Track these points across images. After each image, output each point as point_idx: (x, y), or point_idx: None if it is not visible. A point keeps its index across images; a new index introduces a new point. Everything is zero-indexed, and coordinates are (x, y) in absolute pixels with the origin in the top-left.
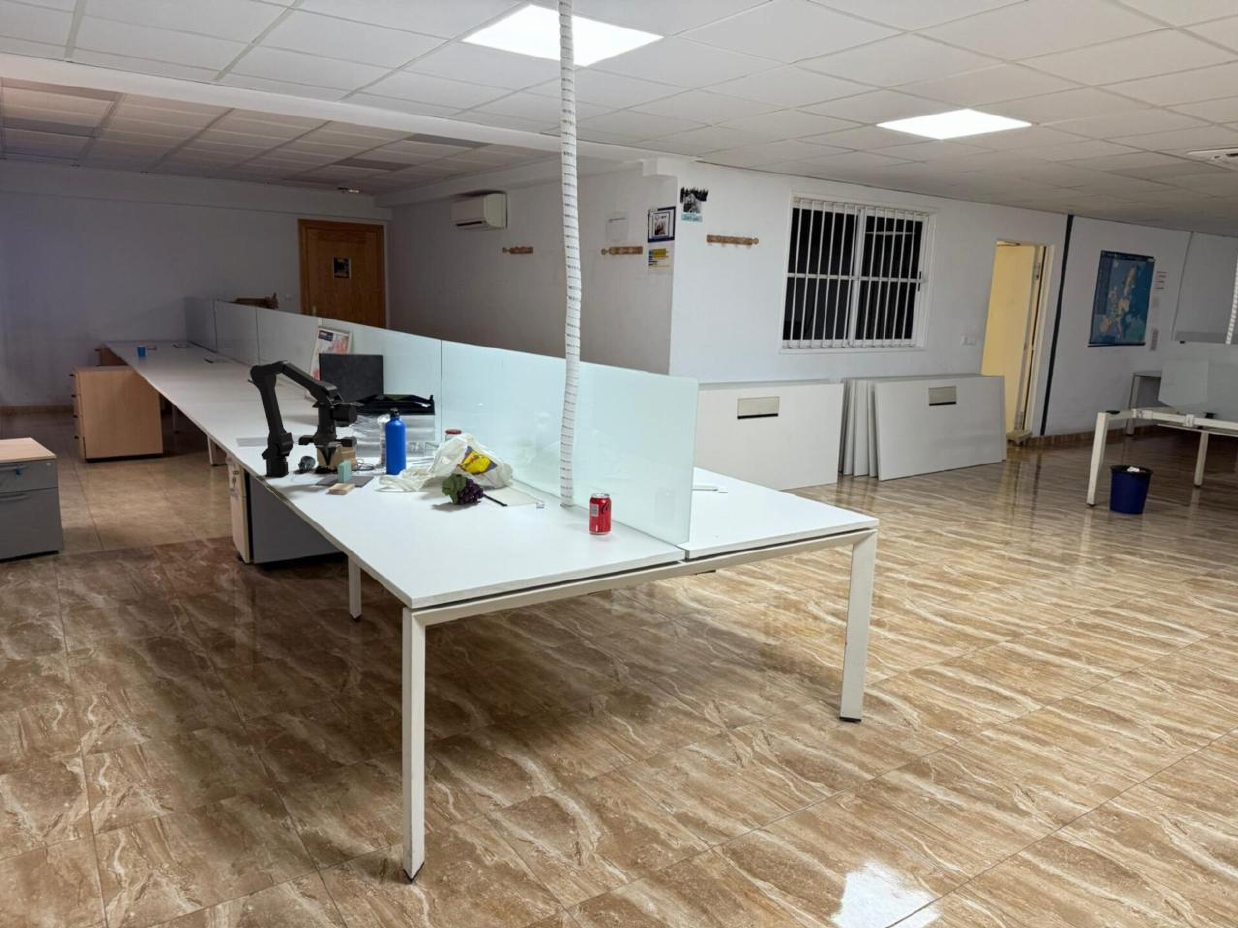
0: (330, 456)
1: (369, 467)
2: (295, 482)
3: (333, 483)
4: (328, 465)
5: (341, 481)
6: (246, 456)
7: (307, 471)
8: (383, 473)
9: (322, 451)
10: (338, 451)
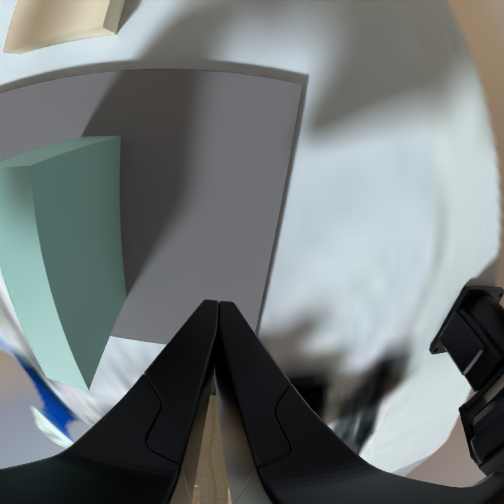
0: (150, 381)
1: None
2: (429, 183)
3: (150, 93)
4: (214, 300)
5: (94, 136)
6: (450, 428)
7: (358, 389)
8: (43, 371)
9: (327, 468)
10: (220, 492)
